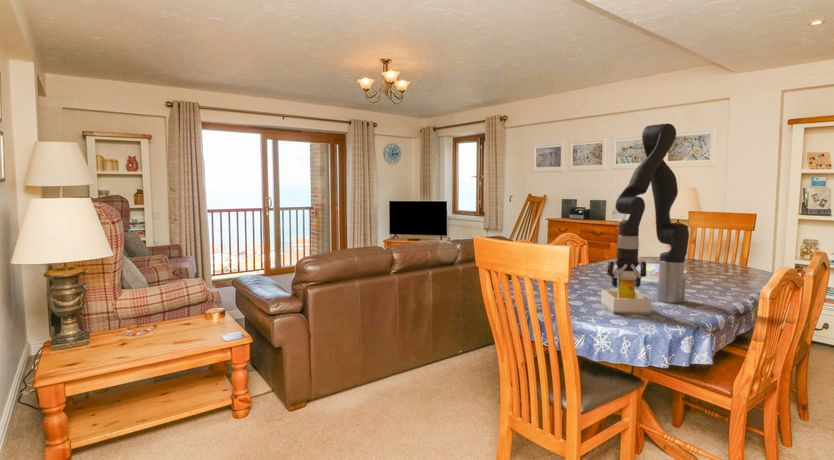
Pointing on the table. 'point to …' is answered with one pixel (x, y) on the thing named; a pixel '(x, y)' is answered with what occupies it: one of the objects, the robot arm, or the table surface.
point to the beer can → (626, 284)
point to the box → (626, 303)
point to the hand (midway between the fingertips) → (625, 286)
